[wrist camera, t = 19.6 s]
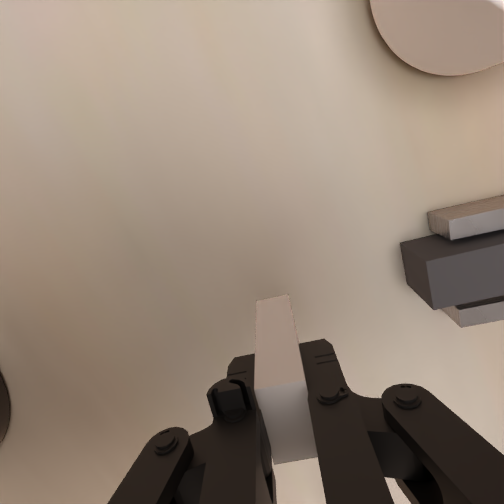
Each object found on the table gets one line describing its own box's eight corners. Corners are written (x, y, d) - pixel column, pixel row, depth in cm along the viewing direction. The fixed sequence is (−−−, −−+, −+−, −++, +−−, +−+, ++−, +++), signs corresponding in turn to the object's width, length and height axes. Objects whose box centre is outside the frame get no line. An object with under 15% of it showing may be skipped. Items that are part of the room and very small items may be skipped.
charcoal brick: (406, 283, 26) (433, 310, 21) (399, 242, 25) (425, 261, 21) (528, 255, 25) (582, 277, 20) (524, 212, 24) (579, 225, 20)
